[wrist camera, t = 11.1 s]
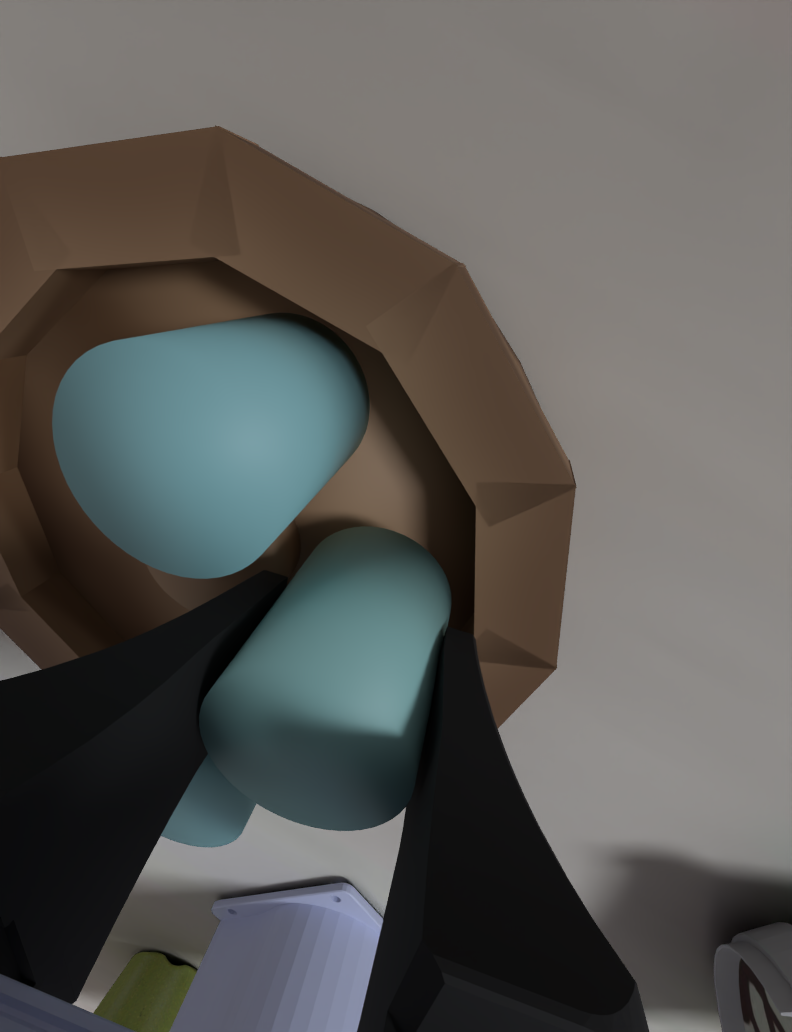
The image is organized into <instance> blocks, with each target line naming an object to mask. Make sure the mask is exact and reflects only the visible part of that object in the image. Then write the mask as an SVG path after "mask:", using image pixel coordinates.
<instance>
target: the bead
mask: <svg viewBox="0 0 792 1032" xmlns="http://www.w3.org/2000/svg"><path fill="white" fill-rule="evenodd" d="M369 413H370V398H369V391H368V386H367V382H366V379H365V376H364V373H363V371H362V368H361V366H360V364H359V362H358V360H357V359H356V357H355V355H354V354H353V352H352V351H351V350H350V348H349V347H348V346H347V344H346V343H345V342H344V341H343V340H342V339H341V338H340V337H339V336H338V335H337V334H336V333H334V332H333V331H332V330H331V329H329V328H328V327H326V326H325V325H323V324H322V323H320V322H318V321H316V320H314V319H312V318H309V317H306V316H303V315H299V314H293V313H271V314H265V315H259V316H253V317H247V318H242V319H236V320H230V321H224V322H219V323H213V324H207V325H201V326H196V327H190V328H184V329H178V330H173V331H167V332H161V333H155V334H150V335H144V336H138V337H132V338H127V339H121V340H115V341H111V342H108V343H104V344H101V345H98V346H97V347H95V348H93V349H91V350H89V351H87V352H86V353H84V354H83V355H82V356H81V357H79V358H78V359H77V360H76V361H75V362H74V363H73V364H72V366H71V367H70V368H69V369H68V370H67V372H66V373H65V375H64V377H63V379H62V380H61V382H60V385H59V388H58V390H57V393H56V396H55V401H54V406H53V416H52V429H53V440H54V445H55V450H56V455H57V458H58V461H59V464H60V468H61V470H62V473H63V475H64V477H65V480H66V482H67V484H68V486H69V488H70V490H71V492H72V493H73V495H74V497H75V499H76V500H77V502H78V503H79V505H80V506H81V508H82V509H83V511H84V512H85V513H86V514H87V516H88V517H89V518H90V519H91V521H92V522H93V523H94V524H95V525H96V526H97V527H98V528H99V529H100V530H101V532H102V533H103V534H104V535H105V536H107V537H108V538H109V539H110V540H111V541H112V542H113V543H114V544H116V545H117V546H118V547H120V548H121V549H122V550H124V551H125V552H126V553H128V554H129V555H131V556H133V557H134V558H136V559H137V560H139V561H141V562H143V563H145V564H147V565H149V566H151V567H153V568H155V569H158V570H160V571H163V572H166V573H169V574H173V575H177V576H180V577H187V578H196V579H209V578H218V577H223V576H226V575H230V574H233V573H235V572H238V571H240V570H242V569H244V568H245V567H247V566H249V565H250V564H252V563H253V562H254V561H255V560H256V559H257V558H259V557H260V556H261V555H262V554H263V553H264V552H265V550H266V549H267V548H268V547H269V546H270V545H271V544H272V543H273V542H274V541H275V539H276V538H277V537H278V536H279V535H280V534H281V533H282V532H283V531H284V530H285V528H286V527H287V526H288V525H289V524H290V523H291V522H292V521H293V520H294V519H295V517H296V516H297V515H298V514H299V513H300V512H301V511H302V510H303V509H304V508H305V506H306V505H307V504H308V503H309V502H310V501H311V500H312V499H313V498H314V497H315V495H316V494H317V493H318V492H319V491H320V490H321V489H322V488H323V487H324V486H325V484H326V483H327V482H328V481H329V480H330V479H331V478H332V477H333V476H334V475H335V473H336V472H337V471H338V470H339V469H340V468H341V467H342V466H343V465H344V464H345V462H346V461H347V460H348V459H349V458H350V457H351V456H352V455H353V453H354V452H355V451H356V450H357V448H358V447H359V445H360V443H361V442H362V440H363V437H364V435H365V432H366V429H367V425H368V421H369Z"/></svg>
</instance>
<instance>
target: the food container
mask: <svg viewBox="0 0 792 1032" xmlns="http://www.w3.org/2000/svg"><path fill="white" fill-rule="evenodd" d="M714 981H715V991H716V998H717V1006H718V1011H719V1017H720V1022H721V1027H722V1032H792V925H790V924H788V923H779V922H777V923H773V924H770V925H766V926H763V927H759V928H756V929H752V930H749V931H745V932H742V933H738V934H737V935H736V936H735V937H733V938H732V941H731V943H730V944H721V945H720V946H719V947H718V948H717V950H716V953H715V957H714Z"/></svg>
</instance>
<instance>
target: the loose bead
mask: <svg viewBox="0 0 792 1032" xmlns="http://www.w3.org/2000/svg"><path fill="white" fill-rule="evenodd" d="M451 605H452V598H451V590H450V585H449V582H448V580H447V577H446V575H445V573H444V571H443V569H442V568H441V566H440V565H439V563H438V562H437V560H436V559H435V558H434V557H433V556H432V555H431V554H430V553H429V552H428V551H427V550H426V549H425V548H424V547H423V546H421V545H420V544H418V543H417V542H415V541H414V540H412V539H410V538H409V537H407V536H405V535H403V534H400V533H398V532H395V531H392V530H388V529H385V528H379V527H370V526H361V527H352V528H348V529H344V530H341V531H338V532H335V533H334V534H332V535H330V536H328V537H327V538H325V539H324V540H323V541H322V542H320V543H319V545H318V546H317V547H316V548H315V549H314V550H313V552H312V553H311V554H310V556H309V557H308V558H307V560H306V561H305V562H304V564H303V565H302V567H301V568H300V569H299V571H298V572H297V573H296V575H295V576H294V577H293V579H292V580H291V581H290V583H289V584H288V585H287V587H286V588H285V589H284V591H283V592H282V594H281V595H280V596H279V598H278V599H277V600H276V602H275V603H274V604H273V606H272V607H271V608H270V610H269V611H268V612H267V614H266V615H265V616H264V618H263V619H262V620H261V622H260V623H259V625H258V626H257V627H256V629H255V630H254V631H253V633H252V634H251V635H250V637H249V638H248V639H247V641H246V642H245V643H244V645H243V646H242V647H241V649H240V650H239V652H238V653H237V654H236V656H235V657H234V658H233V660H232V661H231V662H230V664H229V665H228V666H227V668H226V669H225V670H224V672H223V673H222V674H221V676H220V677H219V678H218V680H217V681H216V683H215V684H214V685H213V687H212V688H211V689H210V691H209V692H208V694H207V695H206V697H205V698H204V701H203V703H202V706H201V709H200V715H199V727H200V733H201V737H202V740H203V743H204V746H205V748H206V750H207V752H208V754H209V756H210V758H211V759H212V761H213V762H214V764H215V765H216V767H217V768H218V769H219V771H220V772H221V773H222V774H223V776H224V777H225V778H226V779H227V780H228V781H229V782H230V783H231V784H232V785H233V786H235V787H236V788H237V789H238V790H239V791H240V792H241V793H243V794H244V795H245V796H247V797H248V798H249V799H251V800H252V801H254V802H255V803H257V804H259V805H260V806H262V807H263V808H265V809H267V810H269V811H271V812H273V813H275V814H277V815H279V816H281V817H284V818H286V819H288V820H291V821H294V822H297V823H300V824H303V825H307V826H311V827H315V828H321V829H326V830H337V831H353V830H362V829H367V828H372V827H375V826H378V825H381V824H384V823H385V822H387V821H389V820H391V819H393V818H394V817H395V816H397V815H398V814H399V813H400V812H401V811H402V810H403V809H404V808H405V807H406V806H407V804H408V802H409V800H410V799H411V797H412V793H413V790H414V787H415V782H416V777H417V772H418V767H419V763H420V758H421V753H422V748H423V743H424V738H425V733H426V729H427V724H428V719H429V714H430V709H431V704H432V698H433V692H434V686H435V680H436V673H437V667H438V662H439V657H440V652H441V648H442V643H443V638H444V635H445V632H446V629H447V627H448V622H449V617H450V612H451Z"/></svg>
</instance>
